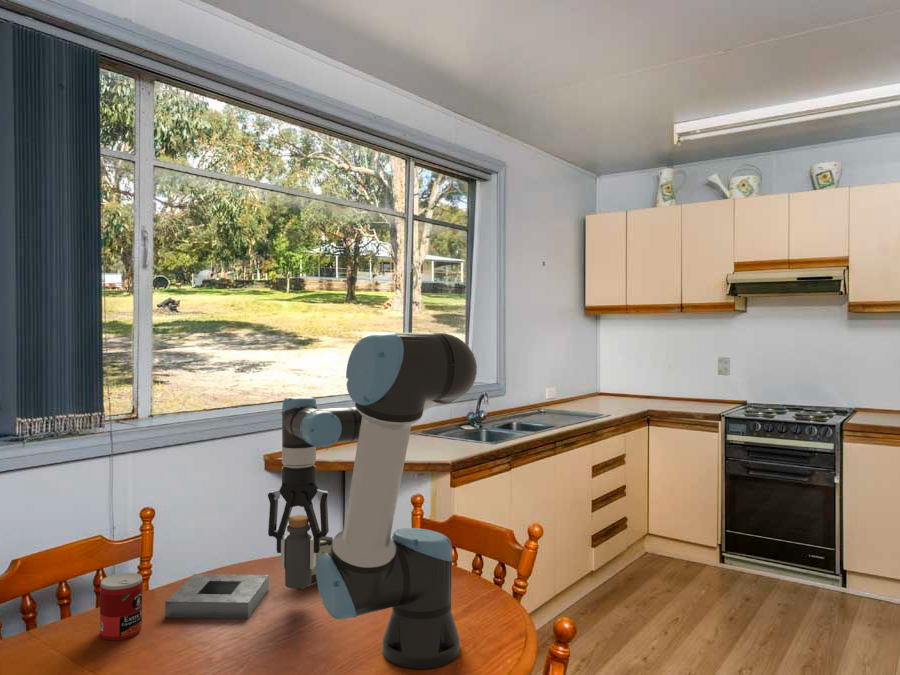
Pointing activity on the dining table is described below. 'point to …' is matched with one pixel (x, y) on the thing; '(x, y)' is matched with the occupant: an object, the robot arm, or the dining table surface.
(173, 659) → the dining table surface
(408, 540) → the robot arm
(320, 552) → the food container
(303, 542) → the bottle
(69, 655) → the dining table surface
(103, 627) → the canned food
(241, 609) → the plate
